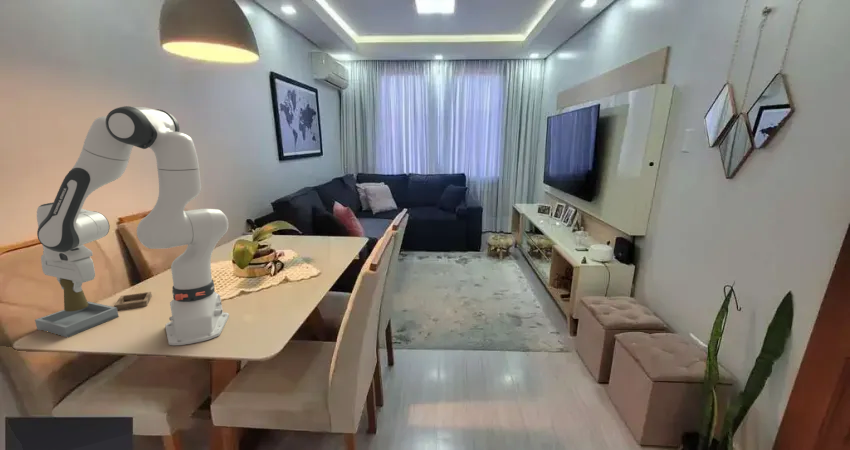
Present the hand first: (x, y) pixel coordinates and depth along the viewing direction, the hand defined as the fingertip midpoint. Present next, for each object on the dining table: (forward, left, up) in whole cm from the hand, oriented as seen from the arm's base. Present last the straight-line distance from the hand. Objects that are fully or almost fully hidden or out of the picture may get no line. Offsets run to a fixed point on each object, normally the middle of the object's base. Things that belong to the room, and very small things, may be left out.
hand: (72, 290), depth 124 cm
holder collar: (+11, -13, -12) cm, 21 cm away
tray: (0, 0, -12) cm, 12 cm away
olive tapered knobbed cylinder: (0, 0, -7) cm, 7 cm away
